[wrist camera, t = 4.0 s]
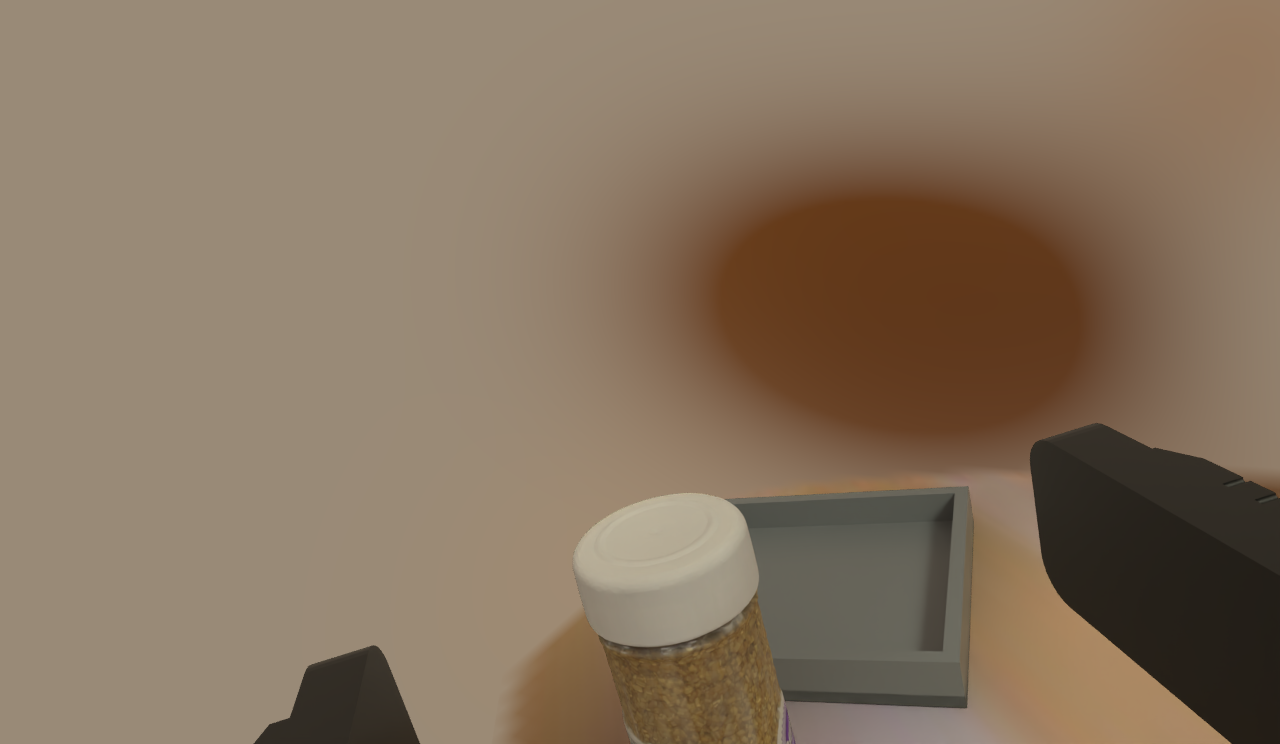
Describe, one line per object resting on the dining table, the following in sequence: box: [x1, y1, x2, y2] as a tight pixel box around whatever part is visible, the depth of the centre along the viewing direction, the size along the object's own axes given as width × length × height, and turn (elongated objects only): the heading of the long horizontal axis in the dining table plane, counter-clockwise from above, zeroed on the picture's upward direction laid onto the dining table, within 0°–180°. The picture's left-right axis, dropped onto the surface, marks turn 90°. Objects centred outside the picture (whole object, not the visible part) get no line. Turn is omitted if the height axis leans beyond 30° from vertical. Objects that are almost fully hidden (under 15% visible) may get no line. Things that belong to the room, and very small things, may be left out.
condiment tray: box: [724, 486, 974, 708], centre depth 41 cm, size 13×13×2 cm
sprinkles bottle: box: [573, 493, 795, 744], centre depth 25 cm, size 5×5×13 cm
